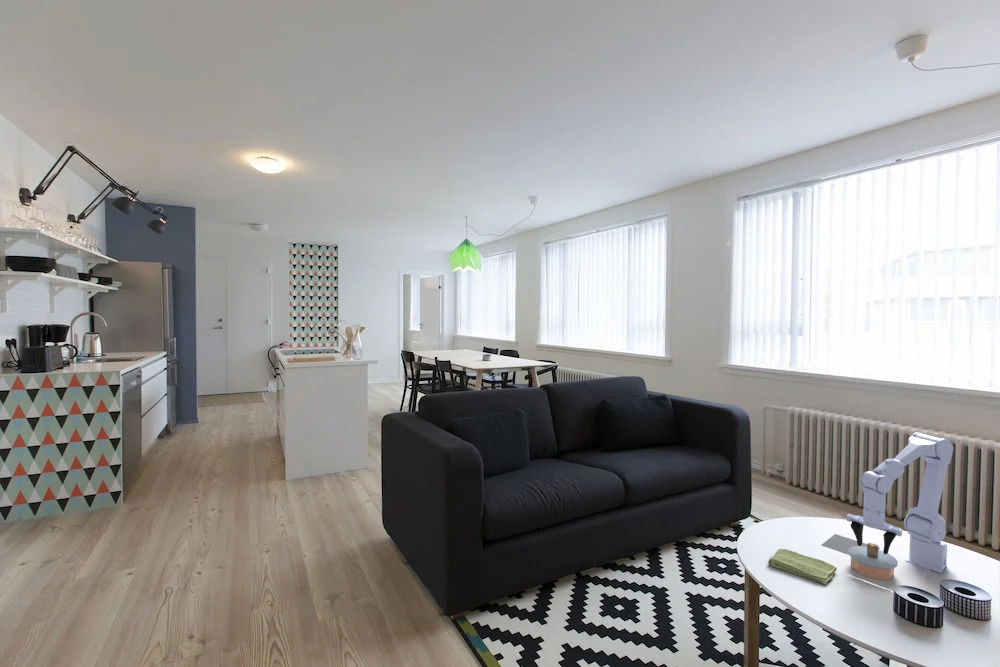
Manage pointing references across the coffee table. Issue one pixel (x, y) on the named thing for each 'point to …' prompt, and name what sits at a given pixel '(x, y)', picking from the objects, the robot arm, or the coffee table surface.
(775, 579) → the coffee table surface
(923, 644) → the coffee table surface
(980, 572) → the coffee table surface
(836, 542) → the mat
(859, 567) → the bowl
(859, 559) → the lid
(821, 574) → the washcloth
